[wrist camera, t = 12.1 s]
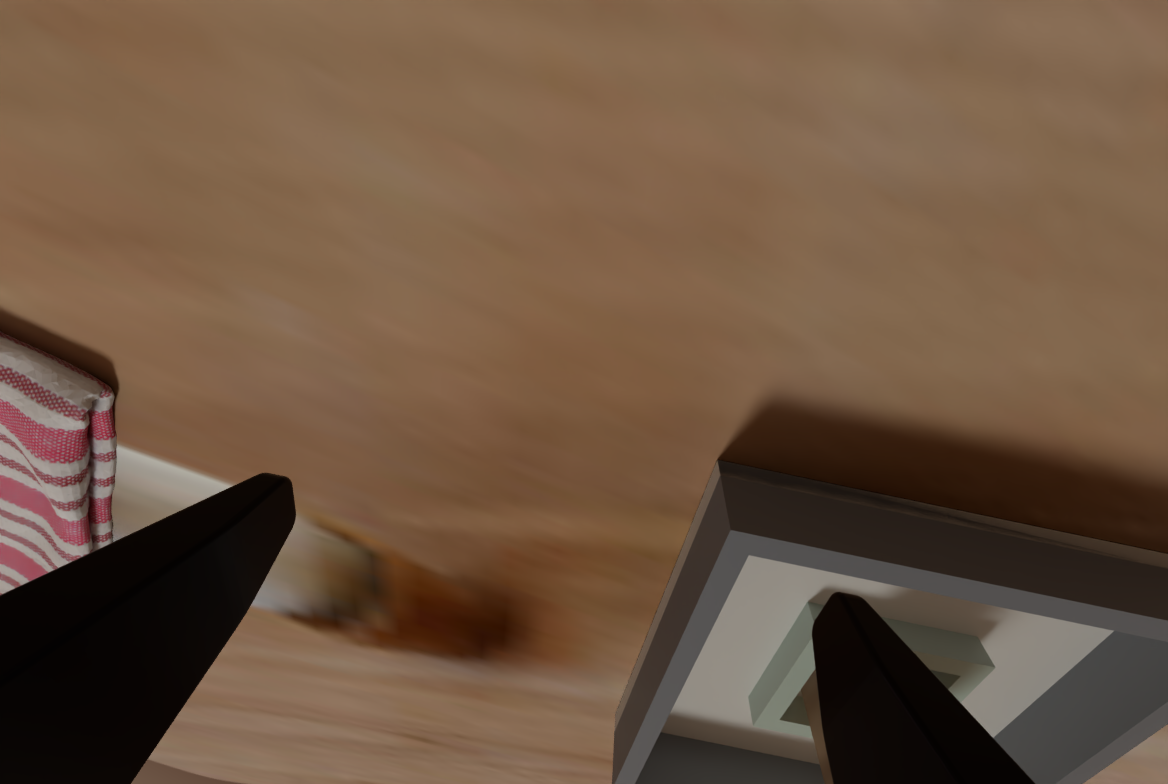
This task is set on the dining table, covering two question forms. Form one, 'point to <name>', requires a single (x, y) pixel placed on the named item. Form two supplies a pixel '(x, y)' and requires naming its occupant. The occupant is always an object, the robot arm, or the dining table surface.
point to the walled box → (915, 613)
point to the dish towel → (51, 463)
